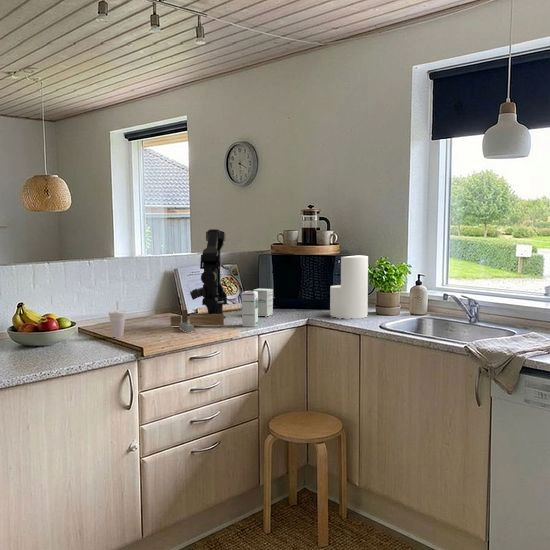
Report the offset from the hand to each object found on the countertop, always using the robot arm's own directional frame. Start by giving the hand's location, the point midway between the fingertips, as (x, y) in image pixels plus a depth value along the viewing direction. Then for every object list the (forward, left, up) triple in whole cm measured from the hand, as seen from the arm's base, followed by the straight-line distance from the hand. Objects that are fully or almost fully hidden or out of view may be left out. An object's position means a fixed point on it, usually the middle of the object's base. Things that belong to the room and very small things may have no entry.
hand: (210, 318), depth 237 cm
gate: (+1, -2, -3) cm, 4 cm away
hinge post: (-3, -13, -3) cm, 13 cm away
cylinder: (+8, +66, -3) cm, 66 cm away
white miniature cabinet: (+8, +15, -3) cm, 17 cm away
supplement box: (-13, +32, -3) cm, 35 cm away
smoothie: (+7, -40, -3) cm, 41 cm away
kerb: (+6, -13, -3) cm, 15 cm away
